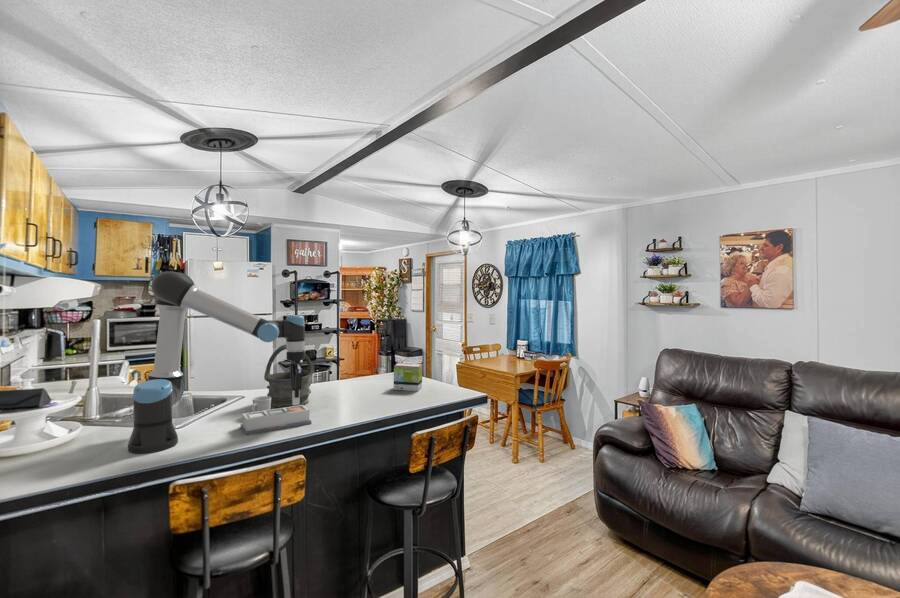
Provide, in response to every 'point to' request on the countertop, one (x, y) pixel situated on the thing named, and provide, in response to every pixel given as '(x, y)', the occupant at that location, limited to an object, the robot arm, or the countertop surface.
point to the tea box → (408, 376)
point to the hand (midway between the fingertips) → (296, 404)
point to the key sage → (276, 412)
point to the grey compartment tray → (275, 420)
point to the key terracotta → (294, 409)
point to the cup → (261, 403)
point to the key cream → (255, 415)
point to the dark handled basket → (286, 384)
